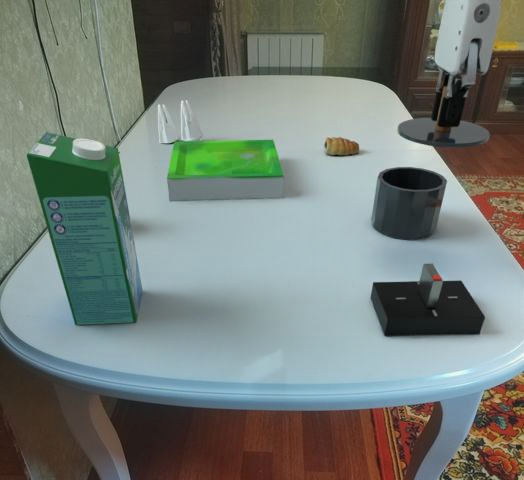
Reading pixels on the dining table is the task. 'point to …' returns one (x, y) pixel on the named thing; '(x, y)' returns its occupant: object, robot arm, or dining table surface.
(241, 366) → the dining table surface
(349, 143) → the pastry
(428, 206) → the pot
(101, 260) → the milk carton
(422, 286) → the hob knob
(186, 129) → the shaker set
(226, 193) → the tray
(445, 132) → the lid
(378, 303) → the panel
